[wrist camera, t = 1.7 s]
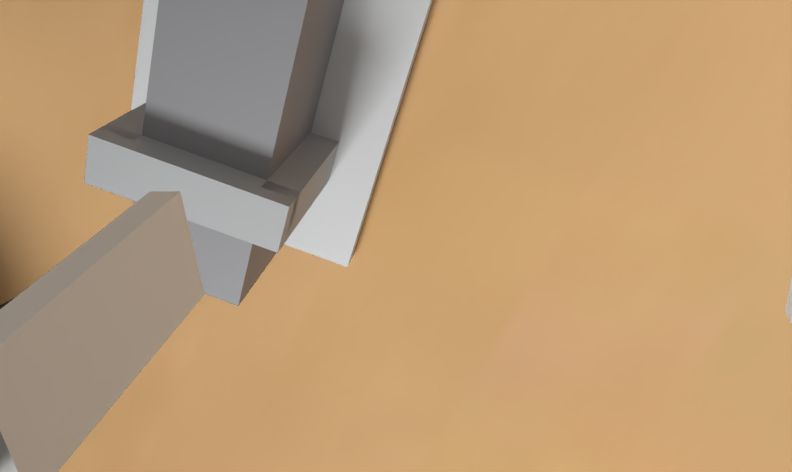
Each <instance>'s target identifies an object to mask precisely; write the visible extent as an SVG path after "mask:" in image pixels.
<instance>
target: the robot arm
mask: <svg viewBox="0 0 792 472" xmlns="http://www.w3.org/2000/svg"><path fill="white" fill-rule="evenodd" d="M204 294H205V293H204V289H203V285H202V280H201V276H200V272H199V268H198V264H197V259H196V255H195V251H194V247H193V243H192V238H191V234H190V230H189V226H188V222H187V217H186V213H185V209H184V205H183V201H182V196H181V192H180V191H150V192H149V193H148V194H146V195H145V196H144V197H142V198H141V199H140V200H139V201H137V202H136V203H135V204H134V205H132V206H131V207H130V208H128V209H127V210H126V211H125V212H123V213H122V214H121V215H120V216H118V217H117V218H116V219H115V220H113V221H112V222H111V223H109V224H108V225H107V226H106V227H104V228H103V229H102V230H101V231H99V232H98V233H97V234H95V235H94V236H93V237H92V238H90V239H89V240H88V241H87V242H85V243H84V244H83V245H81V246H80V247H79V248H78V249H76V250H75V251H74V252H73V253H71V254H70V255H69V256H67V257H66V258H65V259H64V260H62V261H61V262H60V263H59V264H57V265H56V266H55V267H53V268H52V269H51V270H50V271H48V272H47V273H46V274H45V275H43V276H42V277H41V278H39V279H38V280H37V281H36V282H34V283H33V284H32V285H31V286H29V287H28V288H27V289H26V290H24V291H23V292H22V293H20V294H19V295H18V296H17V297H15V298H14V299H12V300H10V301H8V302H6V303H4V304H2V305H0V472H58V471H59V469H60V468H61V467H62V466H63V464H64V463H65V462H66V461H67V460H68V458H69V457H70V456H71V455H72V454H73V452H74V451H75V450H76V449H77V448H78V446H79V445H80V444H81V443H82V442H83V440H84V439H85V438H86V437H87V436H88V434H89V433H90V432H91V431H92V430H93V428H94V427H95V426H96V425H97V423H98V422H99V421H100V420H101V419H102V417H103V416H104V415H105V414H106V413H107V411H108V410H109V409H110V408H111V407H112V405H113V404H114V403H115V402H116V401H117V399H118V398H119V397H120V396H121V395H122V393H123V392H124V391H125V390H126V388H127V387H128V386H129V385H130V384H131V382H132V381H133V380H134V379H135V378H136V376H137V375H138V374H139V373H140V372H141V370H142V369H143V368H144V367H145V366H146V364H147V363H148V362H149V361H150V360H151V358H152V357H153V356H154V355H155V353H156V352H157V351H158V350H159V349H160V347H161V346H162V345H163V344H164V343H165V341H166V340H167V339H168V338H169V337H170V335H171V334H172V333H173V332H174V331H175V329H176V328H177V327H178V326H179V325H180V323H181V322H182V321H183V320H184V319H185V317H186V316H187V315H188V314H189V312H190V311H191V310H192V309H193V308H194V306H195V305H196V304H197V303H198V302H199V300H200V299H201V298H202V297H203V296H204ZM785 313H786V315H787V317H788V319H789V320H790V322H791V324H792V277H791V283H790V288H789V293H788V299H787V304H786V309H785Z"/></svg>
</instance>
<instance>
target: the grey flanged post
mask: <svg viewBox="0 0 792 472" xmlns="http://www.w3.org/2000/svg"><path fill="white" fill-rule="evenodd" d="M432 2H433V0H144V2H143V11H142V20H141V28H140V37H139V46H138V54H137V63H136V72H135V81H134V89H133V98H132V107H131V111H130V112H128V113H126V114H124V115H123V116H121V117H119V118H117V119H115V120H114V121H112V122H110V123H108V124H106V125H105V126H103V127H101V128H99V129H98V130H96V131H94V132H92V133H90V134H89V135H88V147H87V159H86V170H85V182H84V183H86V184H89V185H92V186H94V187H97V188H100V189H103V190H105V191H108V192H111V193H114V194H116V195H119V196H122V197H125V198H127V199H130V200H133V201H134V202H133V205H134V204H135V203H136V202H137V201H139V200H140V199H141V198H142V197H144V196H145V195H146V194H148V193H149V192H150V191H180V192H181V196H182V201H183V205H184V209H185V213H186V217H187V222H188V226H189V230H190V234H191V238H192V243H193V247H194V251H195V255H196V259H197V264H198V268H199V272H200V276H201V280H202V285H203V289H204V293H205V294H207V295H209V296H212V297H215V298H218V299H220V300H223V301H226V302H229V303H231V304H234V305H237V306H239V304H240V303H241V302H242V300H243V299H244V297H245V296H246V294H247V293H248V292H249V290H250V289H251V287H252V286H253V285H254V283H255V282H256V280H257V279H258V278H259V276H260V275H261V273H262V272H263V271H264V269H265V268H266V266H267V265H268V264H269V262H270V261H271V259H272V258H273V257H274V255H275V254H276V252H277V253H278V252H279V250H280V249H281V247H282V246H283V245H284V244H285V245H288V246H290V247H293V248H296V249H299V250H301V251H304V252H307V253H310V254H312V255H315V256H318V257H321V258H323V259H326V260H329V261H332V262H334V263H337V264H340V265H343V266H346V267H348V265H349V263H350V261H351V259H352V257H353V253H354V250H355V247H356V244H357V241H358V238H359V234H360V231H361V228H362V225H363V222H364V218H365V215H366V212H367V209H368V206H369V203H370V199H371V196H372V193H373V190H374V187H375V183H376V180H377V177H378V174H379V171H380V168H381V164H382V161H383V158H384V155H385V152H386V148H387V145H388V142H389V139H390V136H391V133H392V129H393V126H394V123H395V120H396V117H397V113H398V110H399V107H400V104H401V101H402V98H403V94H404V91H405V88H406V85H407V82H408V78H409V75H410V72H411V69H412V66H413V63H414V59H415V56H416V53H417V50H418V47H419V44H420V40H421V37H422V34H423V31H424V28H425V24H426V21H427V18H428V15H429V12H430V9H431V5H432Z"/></svg>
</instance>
